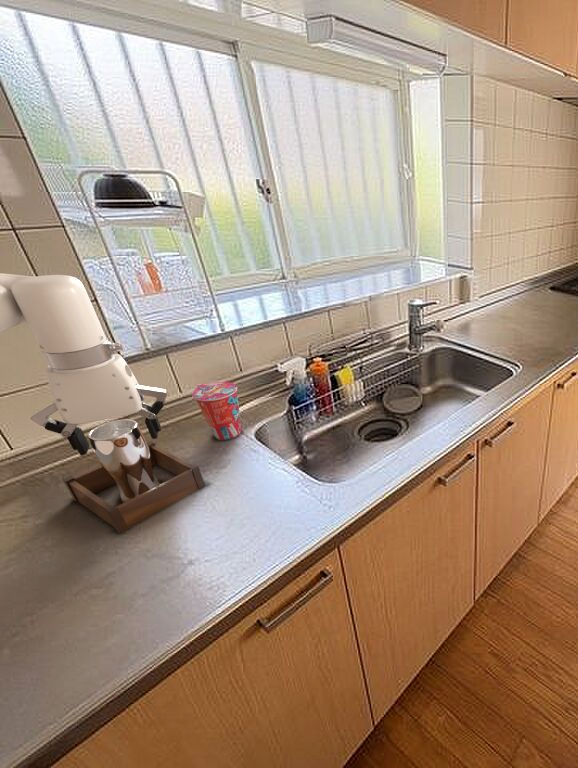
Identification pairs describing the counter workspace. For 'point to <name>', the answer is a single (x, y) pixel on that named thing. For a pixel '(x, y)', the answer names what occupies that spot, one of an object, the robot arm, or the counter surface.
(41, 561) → the counter surface
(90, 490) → the tray
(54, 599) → the counter surface
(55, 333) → the robot arm
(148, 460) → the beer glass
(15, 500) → the counter surface
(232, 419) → the cup
